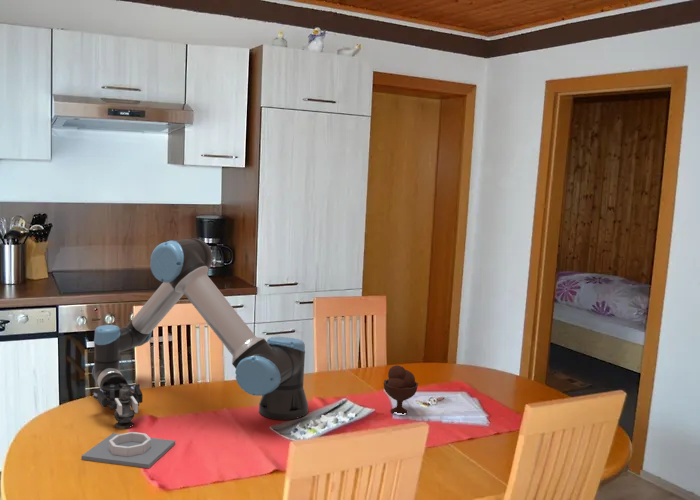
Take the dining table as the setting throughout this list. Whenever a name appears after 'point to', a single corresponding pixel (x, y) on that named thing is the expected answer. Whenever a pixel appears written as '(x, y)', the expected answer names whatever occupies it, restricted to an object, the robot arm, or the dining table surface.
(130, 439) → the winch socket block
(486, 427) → the dining table surface
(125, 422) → the chess piece
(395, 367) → the ice cream bowl
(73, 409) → the dining table surface
